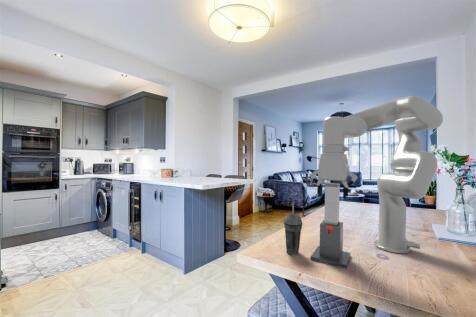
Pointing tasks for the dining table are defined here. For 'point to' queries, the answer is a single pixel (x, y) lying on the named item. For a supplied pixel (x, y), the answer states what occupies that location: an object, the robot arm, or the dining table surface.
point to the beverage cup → (292, 232)
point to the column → (332, 203)
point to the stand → (331, 246)
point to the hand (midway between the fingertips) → (332, 196)
